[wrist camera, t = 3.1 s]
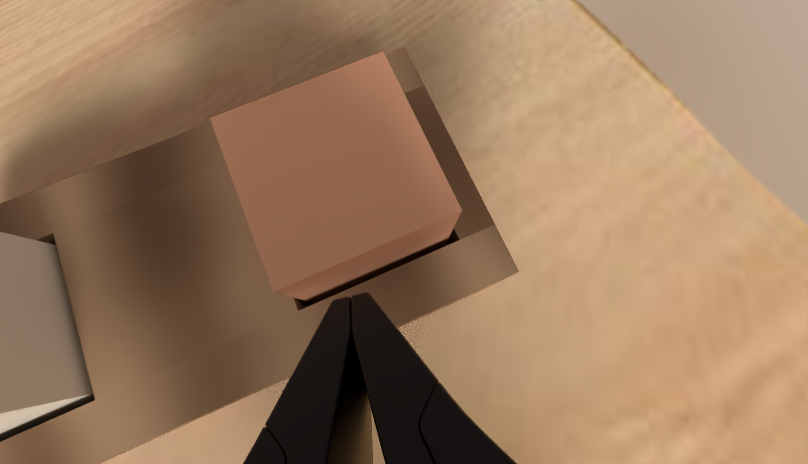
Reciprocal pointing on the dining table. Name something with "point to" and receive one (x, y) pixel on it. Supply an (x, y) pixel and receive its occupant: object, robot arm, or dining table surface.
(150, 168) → the brown striped box
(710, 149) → the dining table surface
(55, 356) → the white box
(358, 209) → the salmon pink block
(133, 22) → the dining table surface
